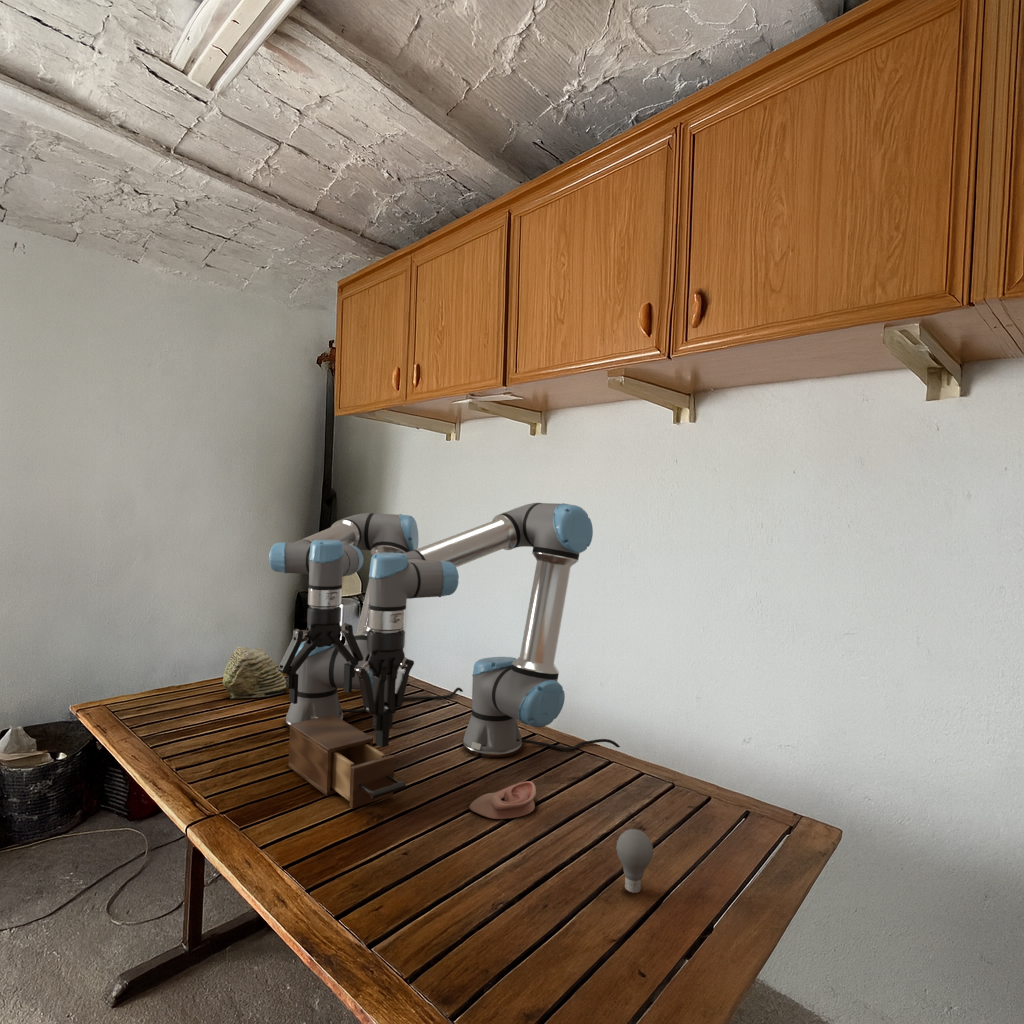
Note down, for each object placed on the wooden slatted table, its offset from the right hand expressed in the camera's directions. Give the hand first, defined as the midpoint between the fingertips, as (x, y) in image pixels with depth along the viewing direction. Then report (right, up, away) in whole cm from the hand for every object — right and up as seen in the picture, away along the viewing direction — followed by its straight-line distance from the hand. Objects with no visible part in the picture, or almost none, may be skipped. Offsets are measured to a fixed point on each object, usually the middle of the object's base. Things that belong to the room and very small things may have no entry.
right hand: (381, 744), depth 129 cm
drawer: (-6, -12, +6) cm, 15 cm away
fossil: (-54, -10, +69) cm, 88 cm away
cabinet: (-15, -13, +16) cm, 25 cm away
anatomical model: (+25, -15, +4) cm, 29 cm away
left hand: (-18, +4, +19) cm, 27 cm away
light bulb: (+47, -16, -23) cm, 55 cm away
